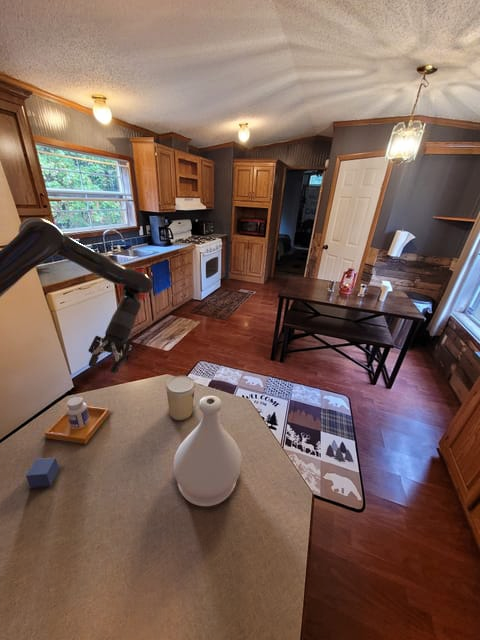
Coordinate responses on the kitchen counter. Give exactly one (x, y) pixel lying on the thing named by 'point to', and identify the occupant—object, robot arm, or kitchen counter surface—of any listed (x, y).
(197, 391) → the kitchen counter surface
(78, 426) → the pill bottle
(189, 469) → the vase
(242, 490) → the kitchen counter surface
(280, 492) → the kitchen counter surface
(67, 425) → the amber tray
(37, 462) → the blue block
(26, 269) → the robot arm
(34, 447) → the kitchen counter surface
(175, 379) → the cream upright cylinder
